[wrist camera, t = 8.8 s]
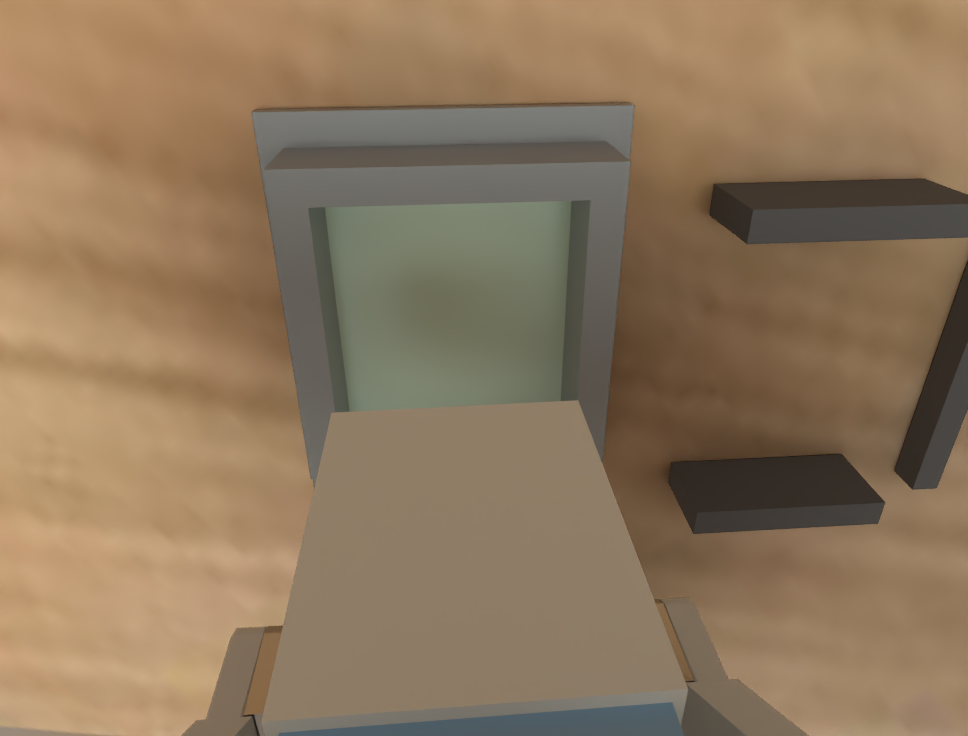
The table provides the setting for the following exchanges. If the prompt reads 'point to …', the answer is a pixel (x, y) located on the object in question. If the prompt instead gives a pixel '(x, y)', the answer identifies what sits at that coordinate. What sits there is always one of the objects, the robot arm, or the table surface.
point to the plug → (470, 586)
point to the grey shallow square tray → (447, 254)
